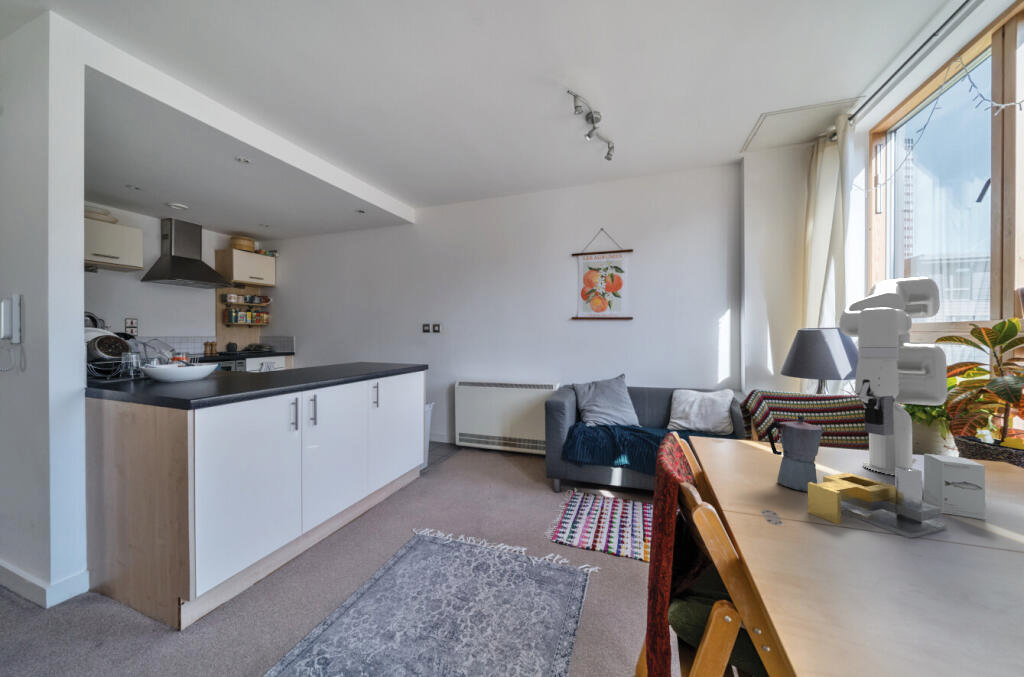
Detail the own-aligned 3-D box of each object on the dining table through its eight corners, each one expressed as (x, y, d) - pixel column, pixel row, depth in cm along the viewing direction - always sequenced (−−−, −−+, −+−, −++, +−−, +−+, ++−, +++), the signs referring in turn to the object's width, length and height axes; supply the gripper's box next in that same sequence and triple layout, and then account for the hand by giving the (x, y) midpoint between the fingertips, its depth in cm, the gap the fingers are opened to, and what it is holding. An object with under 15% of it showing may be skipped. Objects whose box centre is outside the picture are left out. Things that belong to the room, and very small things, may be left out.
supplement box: (940, 513, 85) (939, 460, 86) (923, 501, 92) (922, 452, 92) (987, 521, 82) (986, 465, 82) (965, 508, 88) (965, 456, 89)
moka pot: (839, 494, 96) (838, 419, 97) (780, 493, 97) (780, 418, 97) (810, 480, 106) (809, 412, 106) (757, 479, 106) (757, 412, 107)
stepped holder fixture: (855, 498, 94) (854, 452, 94) (946, 528, 78) (945, 473, 78) (800, 509, 87) (799, 459, 87) (887, 544, 72) (886, 484, 72)
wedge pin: (874, 431, 97) (873, 390, 98) (893, 434, 94) (893, 392, 94) (864, 432, 96) (864, 391, 97) (884, 435, 92) (883, 393, 93)
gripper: (879, 354, 102) (880, 419, 101) (840, 353, 96) (841, 422, 96) (916, 355, 95) (917, 424, 94) (876, 354, 89) (877, 428, 89)
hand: (878, 422), depth 95 cm, fingers closed on wedge pin, 4 cm apart
